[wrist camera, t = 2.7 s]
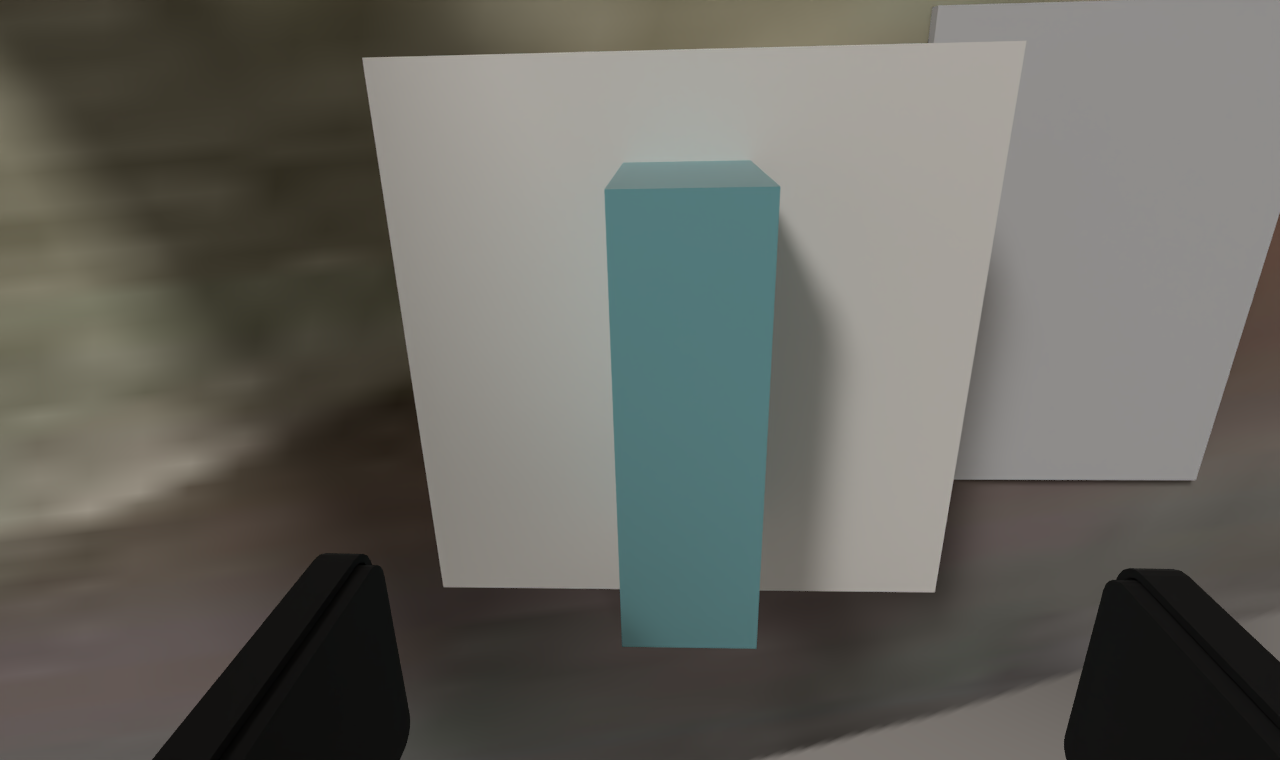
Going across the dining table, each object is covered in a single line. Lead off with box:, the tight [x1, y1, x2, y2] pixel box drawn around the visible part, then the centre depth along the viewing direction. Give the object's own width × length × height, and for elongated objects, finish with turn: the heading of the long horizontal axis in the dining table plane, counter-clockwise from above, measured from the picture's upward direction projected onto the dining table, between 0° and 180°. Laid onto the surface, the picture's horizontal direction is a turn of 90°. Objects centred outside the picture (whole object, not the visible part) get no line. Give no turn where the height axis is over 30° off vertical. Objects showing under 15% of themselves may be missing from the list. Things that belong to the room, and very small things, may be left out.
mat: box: [928, 0, 1280, 480], centre depth 27 cm, size 18×13×1 cm
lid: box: [362, 41, 1026, 649], centre depth 17 cm, size 15×15×7 cm
